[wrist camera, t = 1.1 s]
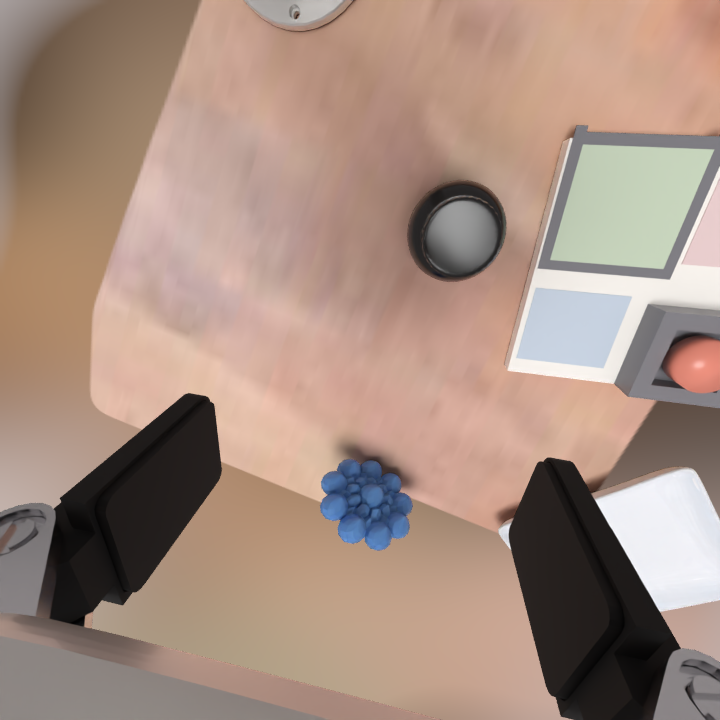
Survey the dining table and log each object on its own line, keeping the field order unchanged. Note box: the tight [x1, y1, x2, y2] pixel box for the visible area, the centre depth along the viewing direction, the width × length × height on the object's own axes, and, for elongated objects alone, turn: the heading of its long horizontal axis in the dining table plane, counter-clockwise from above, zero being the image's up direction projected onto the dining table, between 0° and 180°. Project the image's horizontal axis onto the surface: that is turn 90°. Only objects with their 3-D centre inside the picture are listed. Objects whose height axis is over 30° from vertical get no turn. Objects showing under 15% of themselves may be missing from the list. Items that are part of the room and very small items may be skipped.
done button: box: [662, 335, 720, 393], centre depth 28 cm, size 4×4×2 cm
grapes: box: [320, 459, 413, 550], centre depth 39 cm, size 12×7×12 cm, turn 60°
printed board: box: [504, 125, 720, 384], centre depth 30 cm, size 21×18×2 cm
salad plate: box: [498, 466, 720, 612], centre depth 42 cm, size 21×21×3 cm
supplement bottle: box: [407, 180, 506, 282], centre depth 26 cm, size 7×7×12 cm
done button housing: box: [614, 304, 720, 408], centre depth 30 cm, size 8×8×2 cm
